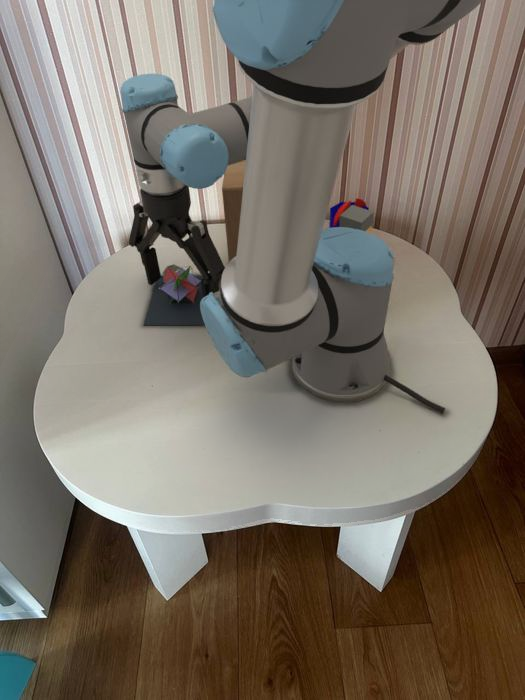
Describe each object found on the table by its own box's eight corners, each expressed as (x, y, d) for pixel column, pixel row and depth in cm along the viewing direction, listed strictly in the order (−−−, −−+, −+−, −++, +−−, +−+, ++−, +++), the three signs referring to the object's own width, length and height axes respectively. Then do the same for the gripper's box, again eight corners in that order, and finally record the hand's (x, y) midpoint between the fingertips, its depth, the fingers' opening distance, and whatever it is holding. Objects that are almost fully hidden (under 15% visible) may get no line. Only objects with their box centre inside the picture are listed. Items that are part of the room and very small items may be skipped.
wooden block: (284, 284, 105) (283, 185, 91) (230, 285, 105) (221, 187, 91) (284, 253, 112) (283, 157, 98) (233, 254, 112) (225, 158, 98)
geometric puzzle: (216, 287, 101) (190, 250, 98) (194, 309, 97) (166, 271, 94) (193, 296, 106) (167, 261, 104) (171, 317, 102) (144, 282, 99)
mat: (212, 325, 97) (212, 324, 97) (143, 325, 98) (143, 324, 98) (219, 276, 107) (219, 275, 107) (157, 276, 108) (157, 275, 108)
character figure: (368, 286, 103) (379, 198, 91) (375, 324, 96) (388, 234, 83) (326, 287, 104) (331, 199, 91) (329, 325, 96) (335, 235, 84)
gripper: (90, 174, 90) (118, 281, 105) (211, 219, 79) (223, 330, 94) (123, 156, 94) (146, 261, 109) (243, 196, 83) (250, 306, 98)
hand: (182, 293), depth 102 cm, fingers open, 13 cm apart
